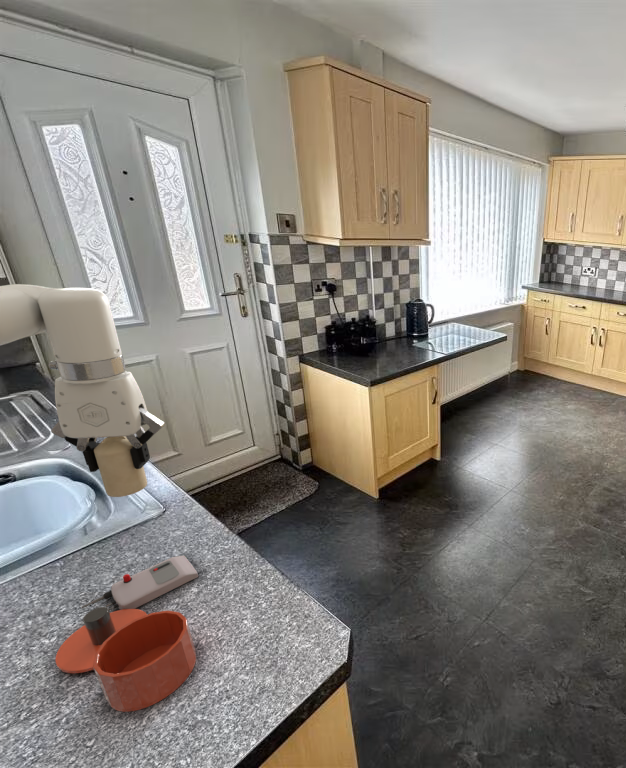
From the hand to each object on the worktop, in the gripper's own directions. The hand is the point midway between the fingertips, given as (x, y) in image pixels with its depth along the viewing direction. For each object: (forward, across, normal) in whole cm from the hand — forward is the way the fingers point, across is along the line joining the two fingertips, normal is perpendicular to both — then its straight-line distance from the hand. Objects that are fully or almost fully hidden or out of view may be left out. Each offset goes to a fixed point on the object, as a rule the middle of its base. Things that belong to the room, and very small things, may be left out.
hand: (120, 465), depth 73 cm
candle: (+5, 0, 0) cm, 5 cm away
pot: (+18, +14, -28) cm, 36 cm away
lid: (+17, +5, -21) cm, 27 cm away
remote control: (+18, +6, -11) cm, 22 cm away
